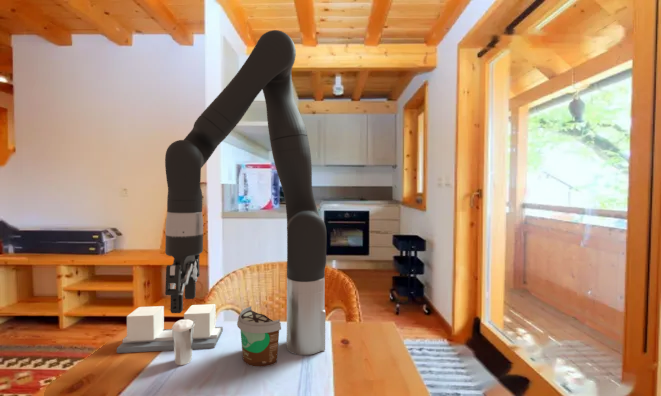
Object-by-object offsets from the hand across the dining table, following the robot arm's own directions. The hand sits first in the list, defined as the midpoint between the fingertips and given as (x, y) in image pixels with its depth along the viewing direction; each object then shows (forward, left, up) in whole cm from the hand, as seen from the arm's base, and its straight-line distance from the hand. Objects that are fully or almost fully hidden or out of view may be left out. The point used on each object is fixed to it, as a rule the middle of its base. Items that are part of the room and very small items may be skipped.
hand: (183, 305), depth 69 cm
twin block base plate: (+6, -10, -13) cm, 17 cm away
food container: (-15, +1, -13) cm, 20 cm away
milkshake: (0, 0, -13) cm, 13 cm away
